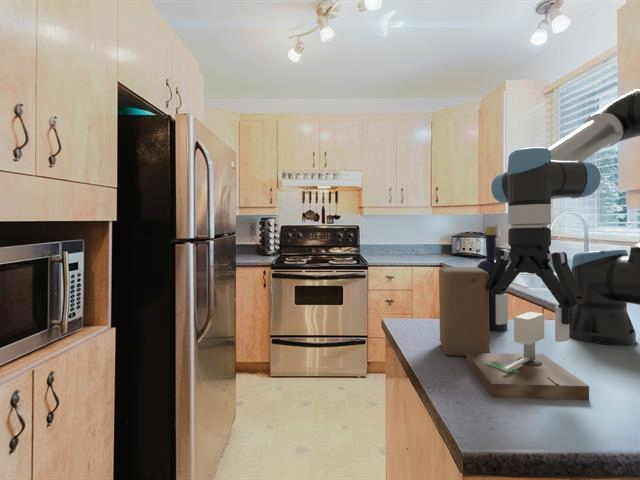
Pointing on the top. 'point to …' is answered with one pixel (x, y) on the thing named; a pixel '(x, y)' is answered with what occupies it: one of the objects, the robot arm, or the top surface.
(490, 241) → the bottle
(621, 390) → the top surface
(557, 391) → the board
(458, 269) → the wooden block
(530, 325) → the cream block and rod
